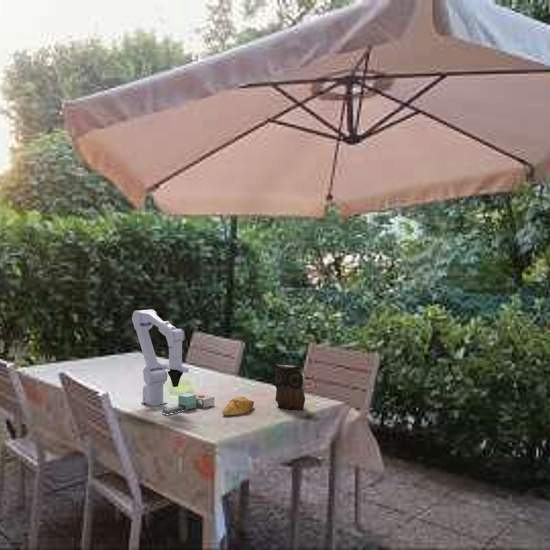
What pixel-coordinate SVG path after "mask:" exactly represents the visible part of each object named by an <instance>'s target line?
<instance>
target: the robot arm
mask: <svg viewBox="0 0 550 550" xmlns="http://www.w3.org/2000/svg"><path fill="white" fill-rule="evenodd" d="M131 320H132V323H133V327H134V328H133V329H134V330H135V331H136V335H137V338H138V342H139V344H140V347H141V351H142V352H141V353H142V355H143V358H144V362H145V367H144V368H143V370H142V373H143V382H144V383H145V384H144V385H143V387H142V401H140V403H141V404H144V403H146V404H145V405H148V404H150V405H149V406H152V405H157V406H161V405H160V404H162V405H165V404H164V403H166V404H168V401H164V385H166V384H165V383H166V382H167V381H168V376H169V378H170V380H171V381H170V382H171V384H172V387H173V388H177V387H179V384H180V380H181V378H182V376H183V374H184V373H185V374H186V373H189V372H190V370H189V367H187V366H183V342H184V341H185V337H186V336H185V335H186V334H185V332H184V330H183V329H182V328H177V327H176V326H174V325H173V324H171V323H170V321H169V320H166V321H164V320H163V319H162V318H161V317H159V316H158V314H157V311H155V310H154V309H153V308H150V309H141V310H137V309H136V310H134V311H133V313H132V316H131ZM153 325H154V326H156V327H157V328H158V332H160V333H161V335H163V336H165V338H166V341H167V346H168V363H165V364H161V363H160V362H158V358H157V355H156V352H155V349H154V346H153V343H152V339H151V336H150V332H149V330H150V329H152V328H153ZM167 370H169V371H167Z"/></svg>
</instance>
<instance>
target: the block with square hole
mask: <svg viewBox="0 0 550 550" xmlns="http://www.w3.org/2000/svg"><path fill="white" fill-rule="evenodd" d="M195 395H196V403H198V407H197V408H199V407H203V408H202V409H206V408H205V407H207V408H210V406H211V407H215V396H211V395H206V394H204V395H205V397H203V398H199V397H198V395H203V393H197V394H196V393H195Z"/></svg>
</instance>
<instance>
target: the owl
mask: <svg viewBox="0 0 550 550" xmlns="http://www.w3.org/2000/svg"><path fill="white" fill-rule="evenodd" d="M275 368H276V369H275V375H274V376H275V379H274V385H275V388H276V391H275V399H274V400H275V402H276V403H277V407H278V408H277V409H279V408H280V409H279V410H285V409H289V410H288V411H291V410H298V411H304V406H305V403H306V396H305V391H304V388H303V386H304V377H303V374H302V367H301V366H300V365H290V364H284V365H282V364H278V363H275Z"/></svg>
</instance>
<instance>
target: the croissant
mask: <svg viewBox="0 0 550 550" xmlns="http://www.w3.org/2000/svg"><path fill="white" fill-rule="evenodd" d="M254 404H255V402H254V401H253V400H250V399H248V398H246V397H244V396H237V397H234V398H232V399H231V400H229V402H228V403H227V405H226V406H225V407H224V409H223V410H222V411H221V412H222V415H223V416H238V414H240V415H244V414H247V413H248V412H249V411H251V409H252V408H253V407H254Z"/></svg>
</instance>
